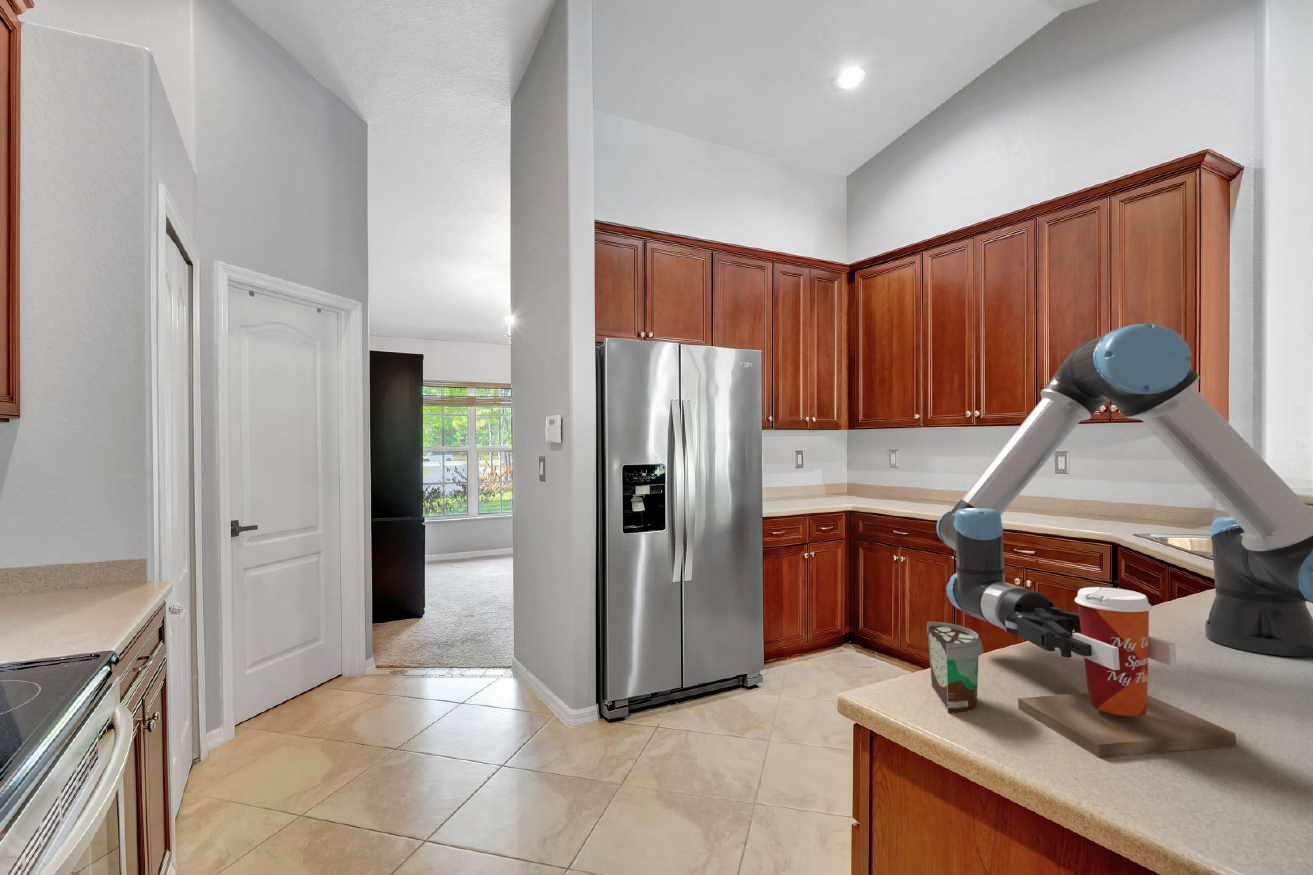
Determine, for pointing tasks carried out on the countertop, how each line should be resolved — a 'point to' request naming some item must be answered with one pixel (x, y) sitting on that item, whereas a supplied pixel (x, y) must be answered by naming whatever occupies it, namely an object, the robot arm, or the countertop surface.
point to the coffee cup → (1127, 628)
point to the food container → (954, 665)
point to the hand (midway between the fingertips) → (1144, 656)
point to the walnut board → (1125, 726)
